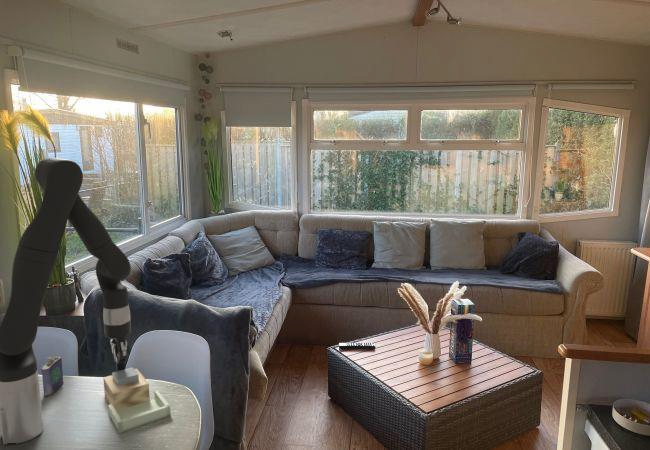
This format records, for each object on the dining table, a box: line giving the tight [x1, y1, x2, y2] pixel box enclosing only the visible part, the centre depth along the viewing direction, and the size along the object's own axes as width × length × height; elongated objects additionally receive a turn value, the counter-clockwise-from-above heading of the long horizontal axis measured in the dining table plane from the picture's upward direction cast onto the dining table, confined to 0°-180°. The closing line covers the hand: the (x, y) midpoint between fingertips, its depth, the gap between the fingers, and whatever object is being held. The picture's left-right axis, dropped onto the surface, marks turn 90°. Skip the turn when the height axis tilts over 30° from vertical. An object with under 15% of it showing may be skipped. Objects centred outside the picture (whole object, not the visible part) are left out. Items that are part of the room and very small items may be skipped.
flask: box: [41, 356, 64, 397], centre depth 149 cm, size 9×3×11 cm, turn 2°
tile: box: [111, 366, 139, 386], centre depth 144 cm, size 6×6×2 cm
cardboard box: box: [102, 368, 150, 411], centre depth 144 cm, size 10×12×6 cm
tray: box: [108, 389, 171, 434], centre depth 135 cm, size 14×11×3 cm
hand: (120, 372), depth 147 cm, fingers closed
